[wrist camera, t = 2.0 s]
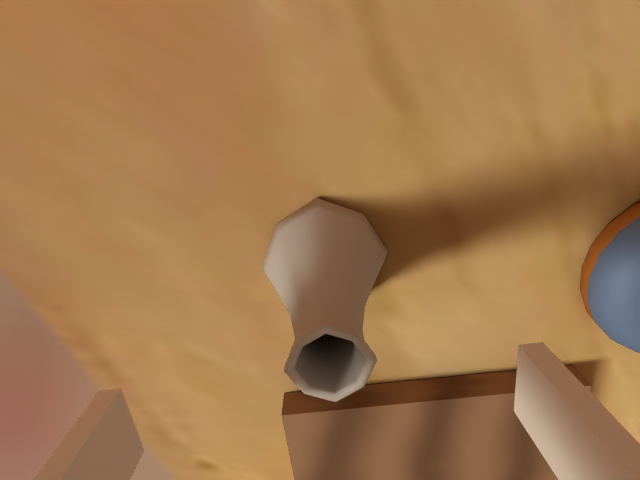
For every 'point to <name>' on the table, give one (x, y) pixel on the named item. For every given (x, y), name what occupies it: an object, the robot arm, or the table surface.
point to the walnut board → (415, 432)
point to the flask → (326, 294)
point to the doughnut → (615, 279)
